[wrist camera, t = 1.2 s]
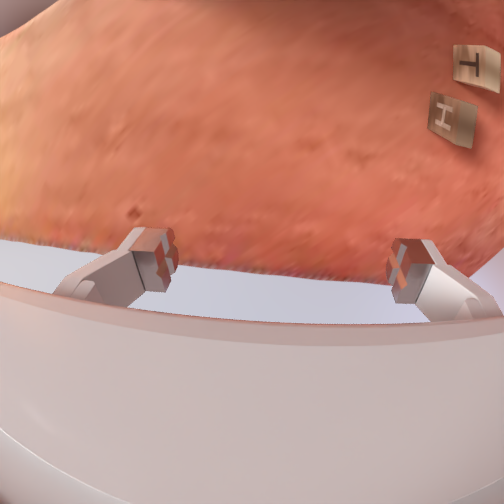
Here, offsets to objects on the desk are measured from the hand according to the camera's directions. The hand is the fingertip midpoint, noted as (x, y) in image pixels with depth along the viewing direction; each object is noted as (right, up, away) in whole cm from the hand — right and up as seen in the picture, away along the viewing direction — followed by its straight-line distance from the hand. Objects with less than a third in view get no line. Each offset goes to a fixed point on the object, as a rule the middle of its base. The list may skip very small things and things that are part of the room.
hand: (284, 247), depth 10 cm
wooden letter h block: (+26, +21, +21) cm, 39 cm away
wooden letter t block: (+30, +28, +15) cm, 44 cm away
